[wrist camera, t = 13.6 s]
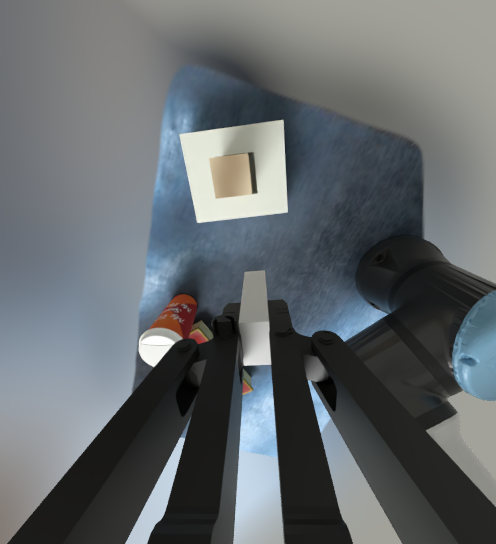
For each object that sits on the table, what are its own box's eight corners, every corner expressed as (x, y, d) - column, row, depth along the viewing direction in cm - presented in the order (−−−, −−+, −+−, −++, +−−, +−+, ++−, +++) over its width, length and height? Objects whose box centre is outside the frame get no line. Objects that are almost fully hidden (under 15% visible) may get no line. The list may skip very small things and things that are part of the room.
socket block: (278, 127, 35) (283, 119, 30) (282, 207, 40) (287, 212, 35) (190, 140, 36) (179, 134, 31) (204, 216, 41) (197, 222, 36)
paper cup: (194, 285, 47) (173, 328, 34) (207, 316, 50) (191, 366, 37) (159, 294, 48) (125, 339, 35) (174, 323, 51) (147, 375, 38)
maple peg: (249, 159, 36) (247, 152, 23) (252, 187, 38) (252, 194, 25) (224, 163, 36) (208, 158, 23) (228, 190, 38) (215, 199, 25)
